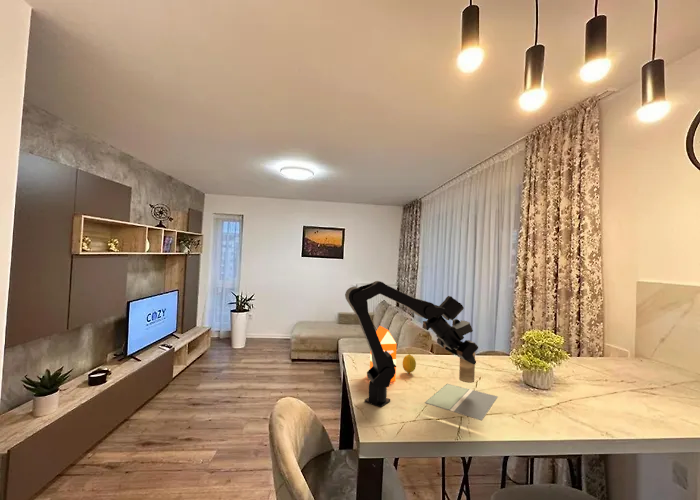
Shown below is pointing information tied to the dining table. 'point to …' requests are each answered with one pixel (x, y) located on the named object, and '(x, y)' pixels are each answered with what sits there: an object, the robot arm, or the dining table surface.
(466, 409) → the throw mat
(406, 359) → the lemon
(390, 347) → the orange juice
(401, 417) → the dining table surface
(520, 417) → the dining table surface
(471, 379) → the red topped wooden cylinder
